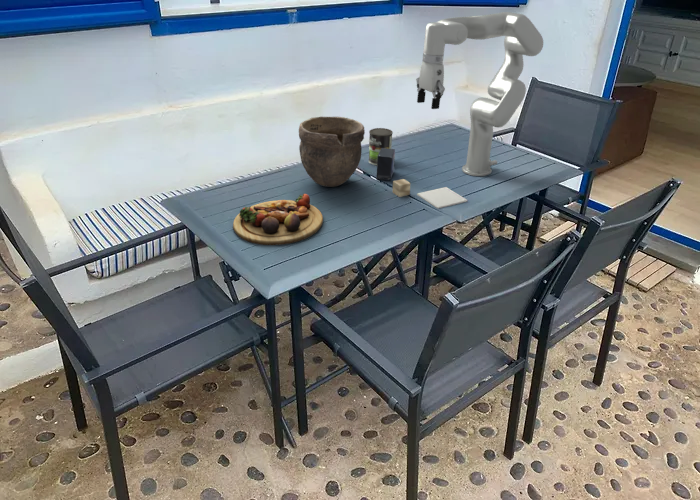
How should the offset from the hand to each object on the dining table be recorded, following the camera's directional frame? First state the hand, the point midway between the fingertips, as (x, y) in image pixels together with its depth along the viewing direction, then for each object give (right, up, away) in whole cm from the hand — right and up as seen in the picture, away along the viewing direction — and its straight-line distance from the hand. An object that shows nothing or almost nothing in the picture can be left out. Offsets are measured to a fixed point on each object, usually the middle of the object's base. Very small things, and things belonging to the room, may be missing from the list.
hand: (427, 105), depth 209 cm
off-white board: (+6, -35, +5) cm, 36 cm away
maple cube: (-9, -33, +9) cm, 35 cm away
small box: (-15, -24, +25) cm, 37 cm away
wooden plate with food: (-55, -47, -13) cm, 74 cm away
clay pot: (-37, -28, +18) cm, 50 cm away
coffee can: (-16, -15, +39) cm, 45 cm away
